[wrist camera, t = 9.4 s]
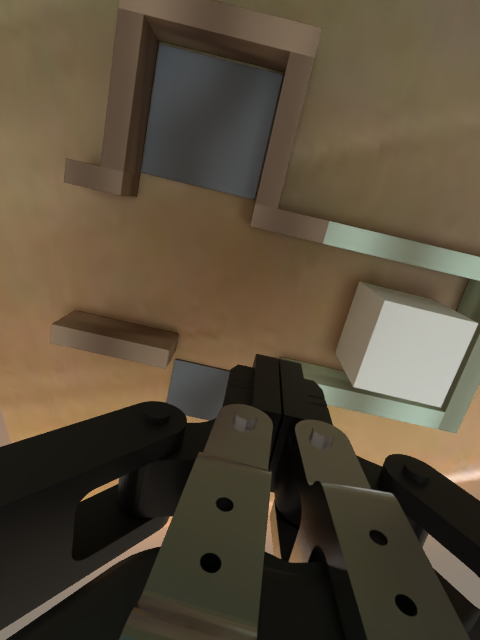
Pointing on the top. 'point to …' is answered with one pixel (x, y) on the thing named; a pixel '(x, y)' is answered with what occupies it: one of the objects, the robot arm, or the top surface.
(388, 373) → the cream block
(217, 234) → the top surface
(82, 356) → the top surface
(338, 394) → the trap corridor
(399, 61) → the top surface
